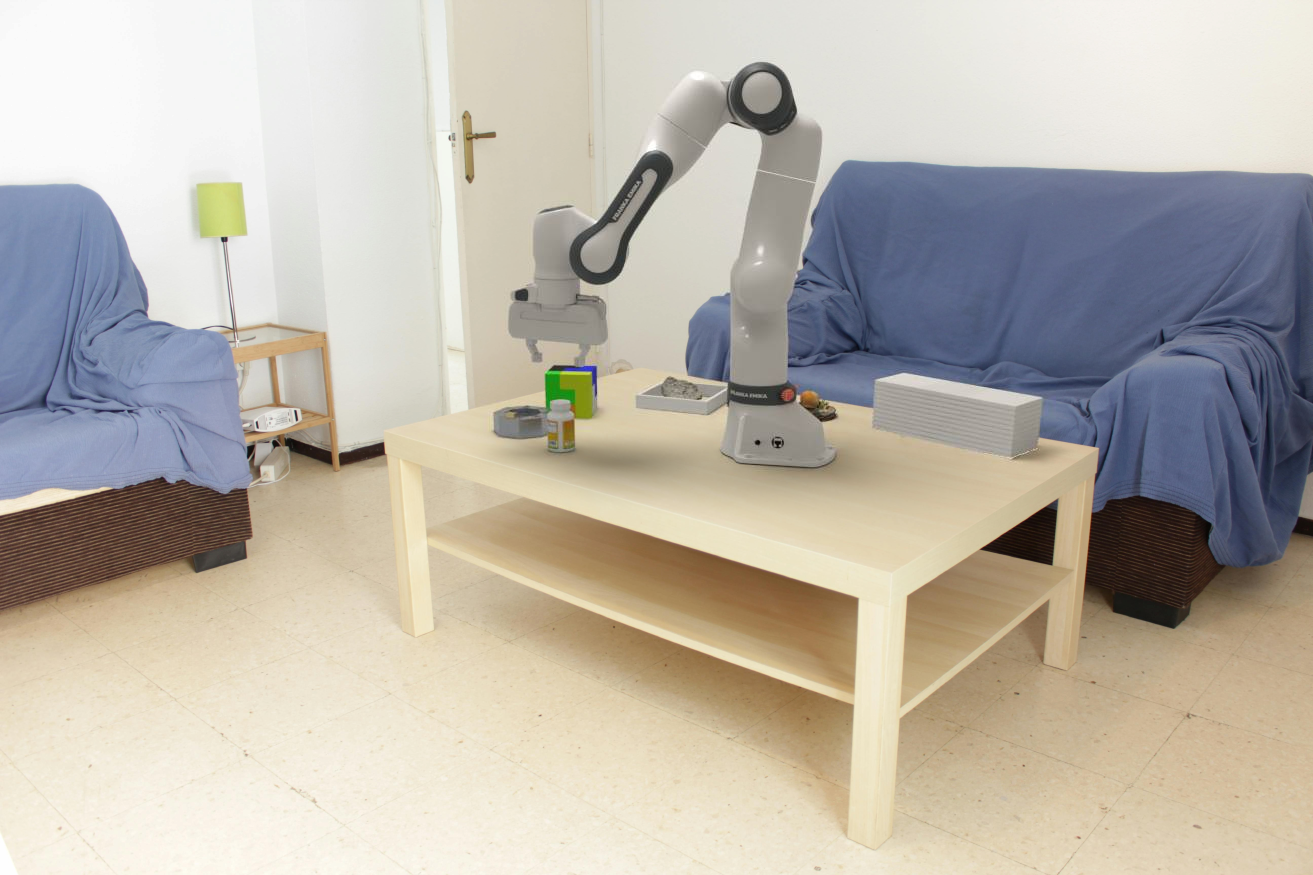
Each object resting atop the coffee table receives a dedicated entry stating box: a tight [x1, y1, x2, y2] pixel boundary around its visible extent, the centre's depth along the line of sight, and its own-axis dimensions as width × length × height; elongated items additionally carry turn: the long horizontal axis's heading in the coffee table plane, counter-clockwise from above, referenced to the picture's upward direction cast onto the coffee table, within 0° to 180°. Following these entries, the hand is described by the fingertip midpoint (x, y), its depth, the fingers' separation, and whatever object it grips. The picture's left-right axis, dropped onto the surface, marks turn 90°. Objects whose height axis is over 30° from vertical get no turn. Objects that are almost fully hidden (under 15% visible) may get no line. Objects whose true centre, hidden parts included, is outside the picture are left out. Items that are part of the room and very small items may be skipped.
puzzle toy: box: [544, 364, 598, 420], centre depth 227 cm, size 10×10×10 cm
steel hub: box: [492, 404, 551, 440], centre depth 212 cm, size 12×12×5 cm
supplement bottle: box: [547, 400, 576, 453], centre depth 198 cm, size 5×5×10 cm
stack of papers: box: [871, 372, 1044, 458], centre depth 206 cm, size 32×11×11 cm, turn 43°
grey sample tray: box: [635, 379, 728, 416], centre depth 237 cm, size 18×18×3 cm
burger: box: [798, 389, 837, 422], centre depth 225 cm, size 12×12×8 cm
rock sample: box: [659, 376, 703, 400], centre depth 235 cm, size 11×8×9 cm
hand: (558, 364), depth 195 cm, fingers open, 8 cm apart
